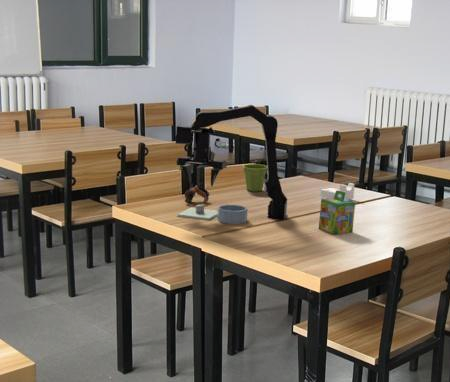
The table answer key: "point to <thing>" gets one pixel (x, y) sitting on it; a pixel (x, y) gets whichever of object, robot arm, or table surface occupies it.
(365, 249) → the table surface
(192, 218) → the mat
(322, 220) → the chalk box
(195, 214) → the lid
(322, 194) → the bracket
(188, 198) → the brown arch
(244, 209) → the bowl
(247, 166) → the plant pot
